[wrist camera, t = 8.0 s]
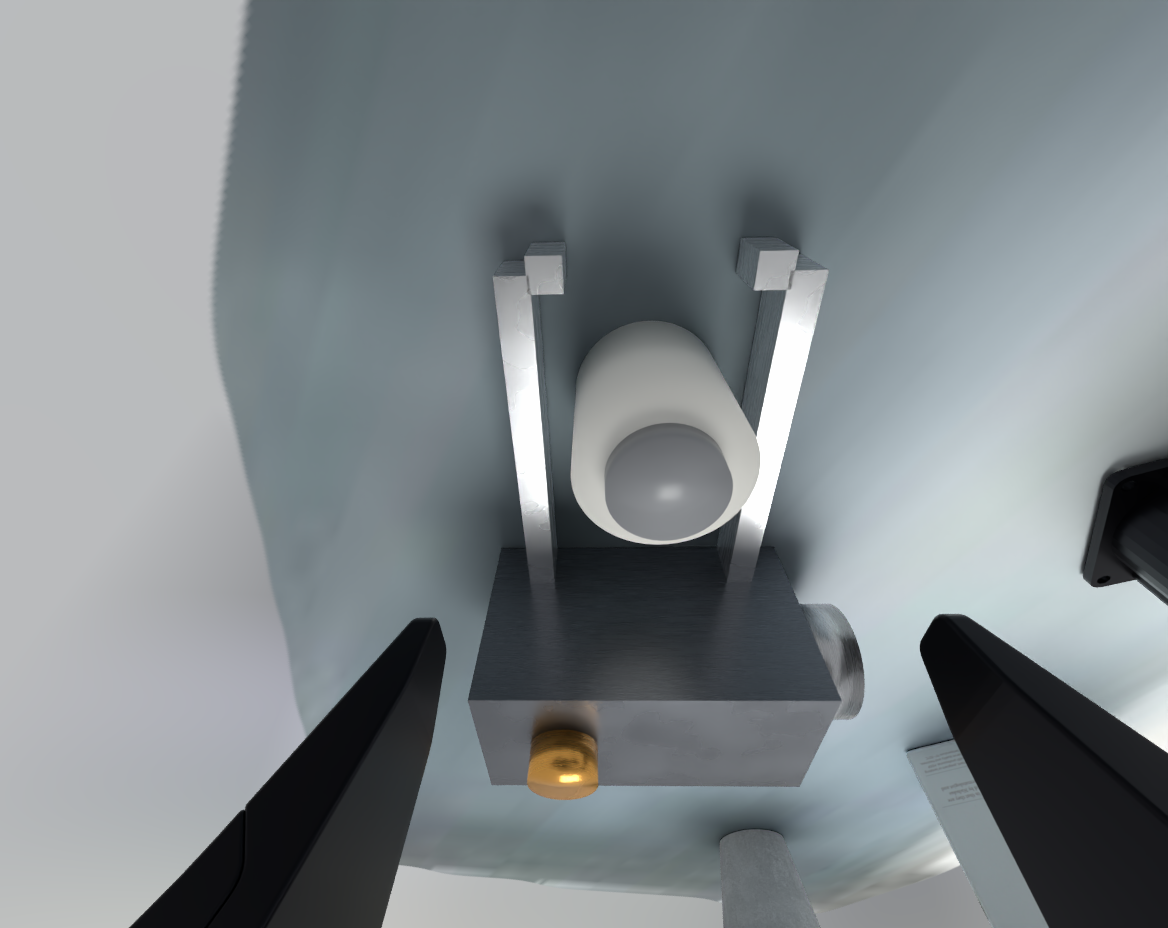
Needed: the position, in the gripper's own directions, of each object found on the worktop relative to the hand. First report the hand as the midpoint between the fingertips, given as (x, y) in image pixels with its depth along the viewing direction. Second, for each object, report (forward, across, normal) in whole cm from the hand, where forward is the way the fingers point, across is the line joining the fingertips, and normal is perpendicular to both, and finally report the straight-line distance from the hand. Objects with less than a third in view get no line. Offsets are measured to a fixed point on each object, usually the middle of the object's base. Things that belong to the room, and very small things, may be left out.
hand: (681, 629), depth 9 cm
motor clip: (+10, -1, +4) cm, 11 cm away
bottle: (+10, 0, 0) cm, 10 cm away
